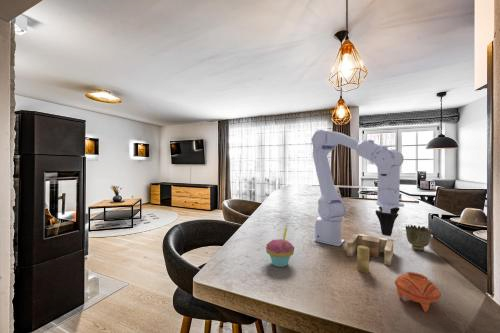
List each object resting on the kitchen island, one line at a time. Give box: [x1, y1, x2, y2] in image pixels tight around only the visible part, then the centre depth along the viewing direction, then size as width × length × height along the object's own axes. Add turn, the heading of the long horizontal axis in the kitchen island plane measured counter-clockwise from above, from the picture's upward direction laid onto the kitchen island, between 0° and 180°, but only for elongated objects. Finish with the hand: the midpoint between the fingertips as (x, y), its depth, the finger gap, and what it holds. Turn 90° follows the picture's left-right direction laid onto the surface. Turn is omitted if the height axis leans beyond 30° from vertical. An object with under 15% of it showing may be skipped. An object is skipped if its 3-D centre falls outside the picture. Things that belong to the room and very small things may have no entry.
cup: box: [405, 224, 433, 252], centre depth 77 cm, size 8×7×8 cm
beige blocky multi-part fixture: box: [346, 232, 394, 267], centre depth 73 cm, size 12×12×4 cm
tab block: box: [356, 234, 381, 274], centre depth 68 cm, size 5×19×6 cm, turn 143°
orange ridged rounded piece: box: [394, 271, 442, 313], centre depth 47 cm, size 8×8×7 cm
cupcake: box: [265, 224, 295, 268], centre depth 65 cm, size 9×8×12 cm
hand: (387, 232), depth 67 cm, fingers open, 7 cm apart
